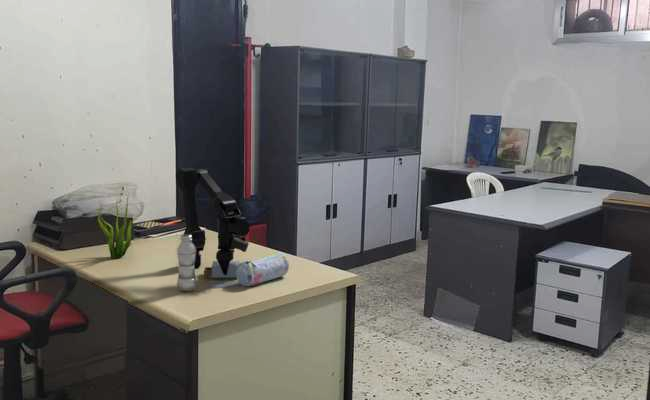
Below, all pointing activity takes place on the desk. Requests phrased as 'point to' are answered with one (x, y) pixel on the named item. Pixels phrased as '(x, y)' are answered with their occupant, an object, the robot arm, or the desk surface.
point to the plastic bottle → (186, 264)
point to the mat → (223, 284)
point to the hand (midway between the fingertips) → (225, 272)
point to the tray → (209, 274)
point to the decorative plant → (117, 235)
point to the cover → (218, 271)
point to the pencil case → (262, 269)
